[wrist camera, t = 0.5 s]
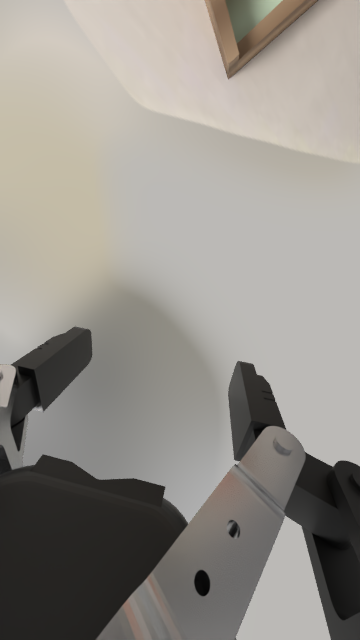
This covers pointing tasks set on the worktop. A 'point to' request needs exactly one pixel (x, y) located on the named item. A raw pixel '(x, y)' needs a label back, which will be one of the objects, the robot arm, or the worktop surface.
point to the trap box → (250, 26)
